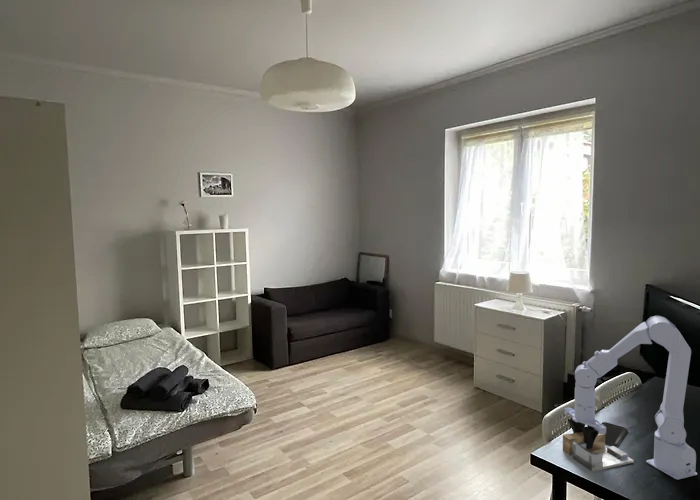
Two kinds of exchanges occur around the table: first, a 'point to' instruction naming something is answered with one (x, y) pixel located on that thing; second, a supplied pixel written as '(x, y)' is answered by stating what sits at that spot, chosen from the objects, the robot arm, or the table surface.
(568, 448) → the oak rail
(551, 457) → the table surface
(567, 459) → the table surface
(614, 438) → the phone
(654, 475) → the table surface
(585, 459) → the bracket board
